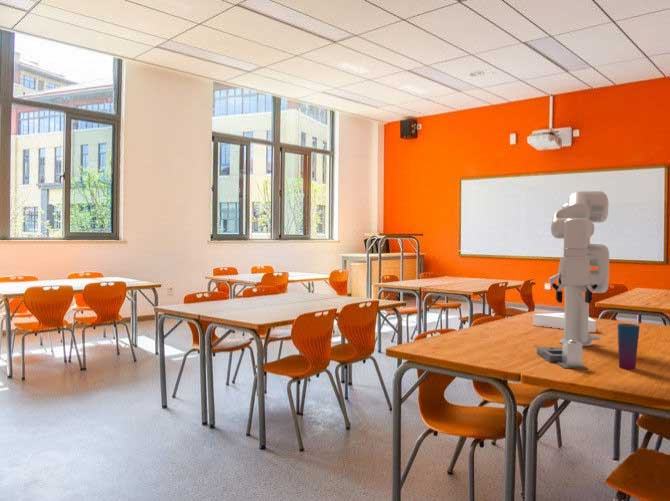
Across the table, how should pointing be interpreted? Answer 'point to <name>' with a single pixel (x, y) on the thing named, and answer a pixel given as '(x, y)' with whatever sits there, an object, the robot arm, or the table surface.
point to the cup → (627, 345)
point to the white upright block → (572, 353)
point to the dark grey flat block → (550, 353)
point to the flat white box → (557, 321)
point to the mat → (570, 366)
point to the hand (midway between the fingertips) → (573, 302)
